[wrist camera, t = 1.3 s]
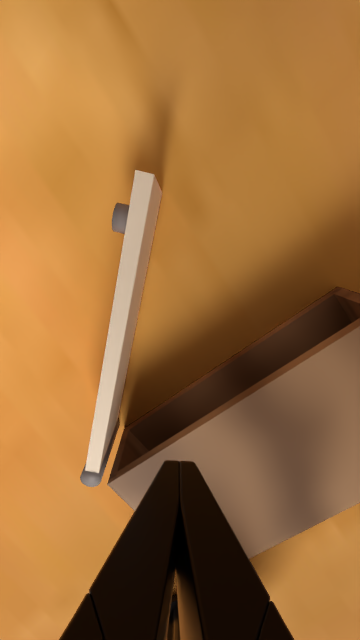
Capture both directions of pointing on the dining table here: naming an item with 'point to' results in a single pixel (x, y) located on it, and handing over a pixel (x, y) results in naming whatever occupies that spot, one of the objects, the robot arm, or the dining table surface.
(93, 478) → the door
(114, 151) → the dining table surface
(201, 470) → the walnut box
